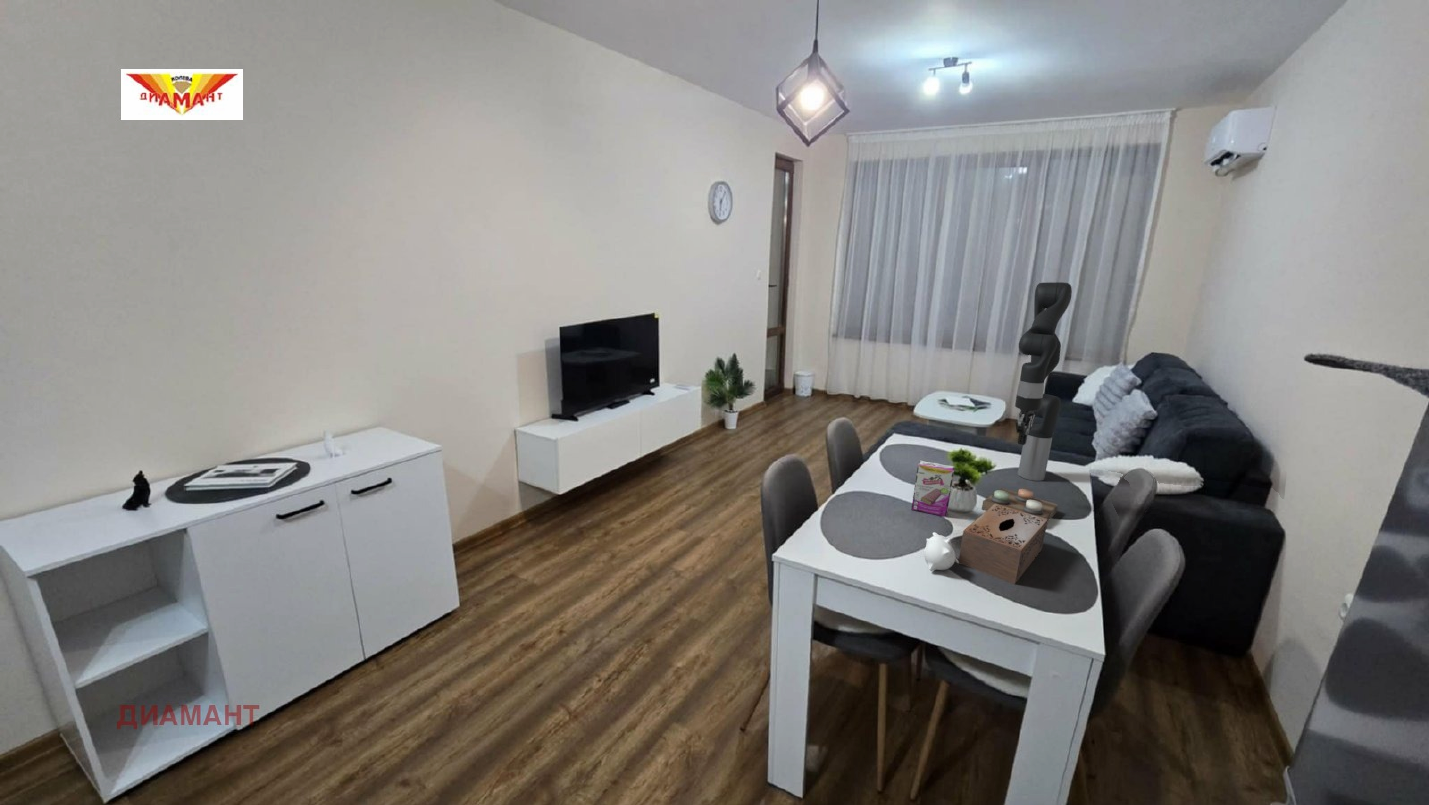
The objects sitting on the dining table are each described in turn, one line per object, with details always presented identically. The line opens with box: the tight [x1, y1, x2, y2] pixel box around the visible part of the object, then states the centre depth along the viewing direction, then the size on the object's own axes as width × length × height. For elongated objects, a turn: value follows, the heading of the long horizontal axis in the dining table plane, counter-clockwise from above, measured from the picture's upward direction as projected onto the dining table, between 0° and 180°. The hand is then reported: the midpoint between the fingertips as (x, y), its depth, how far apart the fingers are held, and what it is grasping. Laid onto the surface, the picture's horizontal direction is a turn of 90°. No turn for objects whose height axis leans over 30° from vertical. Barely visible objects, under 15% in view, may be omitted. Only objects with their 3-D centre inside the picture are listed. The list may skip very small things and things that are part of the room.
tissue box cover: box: [958, 504, 1049, 585], centre depth 158 cm, size 26×14×10 cm, turn 137°
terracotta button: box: [1017, 488, 1034, 500], centre depth 190 cm, size 4×4×2 cm
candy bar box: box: [911, 460, 956, 518], centre depth 184 cm, size 11×5×16 cm, turn 65°
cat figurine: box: [923, 532, 960, 572], centre depth 152 cm, size 9×11×12 cm
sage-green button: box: [993, 489, 1009, 501], centre depth 188 cm, size 4×4×2 cm
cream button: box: [1026, 500, 1042, 511], centre depth 181 cm, size 4×4×2 cm
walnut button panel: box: [981, 487, 1059, 521], centre depth 188 cm, size 17×18×4 cm
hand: (1021, 443), depth 189 cm, fingers closed
